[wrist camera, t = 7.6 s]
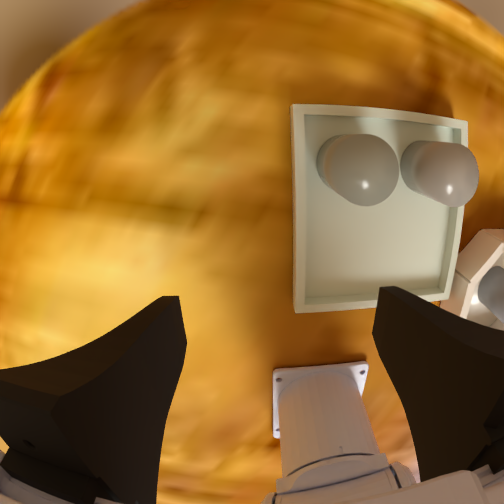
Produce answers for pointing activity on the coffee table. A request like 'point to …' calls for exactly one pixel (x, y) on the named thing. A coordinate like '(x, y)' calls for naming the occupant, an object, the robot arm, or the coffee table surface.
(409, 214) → the tray
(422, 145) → the pebble
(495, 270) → the grey rounded cylinder
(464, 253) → the bowl
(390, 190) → the pebble
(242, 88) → the coffee table surface
